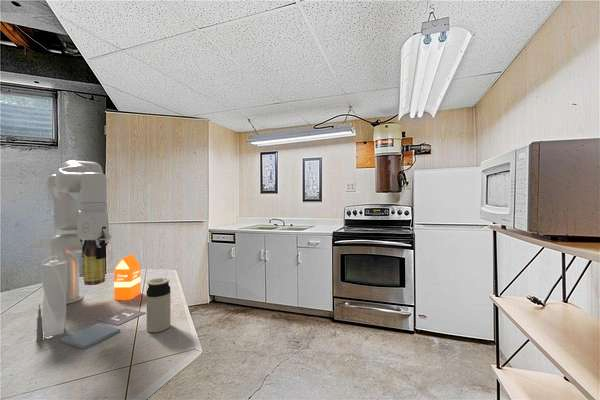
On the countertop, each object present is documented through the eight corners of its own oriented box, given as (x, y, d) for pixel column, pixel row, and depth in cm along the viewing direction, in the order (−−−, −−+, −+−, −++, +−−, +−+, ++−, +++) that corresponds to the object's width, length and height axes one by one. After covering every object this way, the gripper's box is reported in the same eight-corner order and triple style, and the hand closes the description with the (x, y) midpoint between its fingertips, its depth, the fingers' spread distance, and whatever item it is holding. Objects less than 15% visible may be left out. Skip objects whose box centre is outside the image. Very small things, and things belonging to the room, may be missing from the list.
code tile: (96, 320, 107) (96, 319, 107) (125, 308, 119) (125, 308, 119) (118, 325, 103) (118, 324, 103) (145, 312, 115) (145, 312, 115)
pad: (60, 342, 92) (60, 339, 92) (97, 326, 103) (97, 323, 103) (84, 348, 87) (84, 345, 87) (120, 331, 99) (120, 328, 99)
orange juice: (140, 293, 138) (140, 254, 138) (130, 299, 129) (130, 258, 129) (125, 293, 138) (125, 254, 137) (113, 299, 129) (113, 258, 129)
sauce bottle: (91, 280, 99) (90, 227, 99) (109, 280, 100) (108, 226, 100) (78, 286, 93) (78, 229, 93) (97, 286, 94) (97, 229, 93)
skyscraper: (39, 332, 98) (39, 256, 98) (69, 326, 103) (68, 253, 103) (35, 342, 92) (35, 260, 91) (67, 335, 96) (66, 257, 96)
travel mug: (146, 335, 96) (145, 285, 96) (147, 325, 103) (146, 279, 103) (170, 330, 100) (170, 282, 100) (170, 321, 107) (170, 276, 107)
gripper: (65, 207, 95) (66, 258, 96) (100, 208, 90) (100, 262, 90) (88, 206, 102) (88, 253, 103) (121, 207, 97) (121, 257, 97)
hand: (94, 257), depth 96 cm, fingers closed on sauce bottle, 6 cm apart
